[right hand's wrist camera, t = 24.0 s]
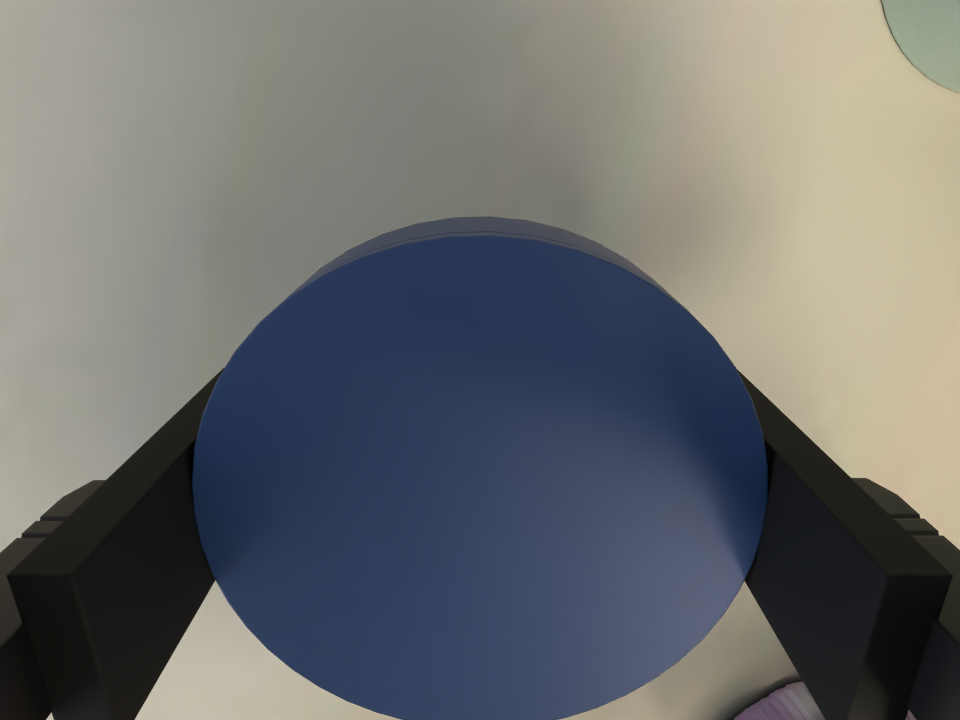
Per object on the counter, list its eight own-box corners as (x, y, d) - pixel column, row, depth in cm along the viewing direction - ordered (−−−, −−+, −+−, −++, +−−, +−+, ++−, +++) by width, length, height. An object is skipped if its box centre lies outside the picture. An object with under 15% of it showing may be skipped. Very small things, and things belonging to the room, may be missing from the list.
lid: (159, 526, 13) (106, 595, 11) (384, 101, 10) (362, 96, 8) (544, 708, 14) (554, 794, 13) (829, 391, 12) (894, 442, 10)
